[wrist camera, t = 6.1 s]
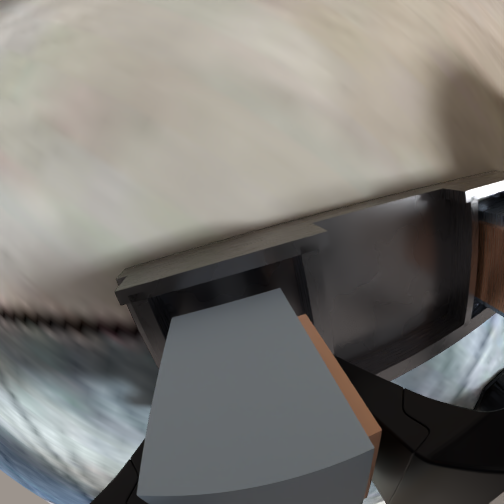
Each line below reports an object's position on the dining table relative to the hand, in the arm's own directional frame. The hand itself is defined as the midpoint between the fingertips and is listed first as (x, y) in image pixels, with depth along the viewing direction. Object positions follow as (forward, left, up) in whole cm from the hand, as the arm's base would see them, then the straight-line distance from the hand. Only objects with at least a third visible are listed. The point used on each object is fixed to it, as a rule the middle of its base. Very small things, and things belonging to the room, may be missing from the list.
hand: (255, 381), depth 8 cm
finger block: (0, 0, -1) cm, 1 cm away
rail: (0, -7, -4) cm, 8 cm away
